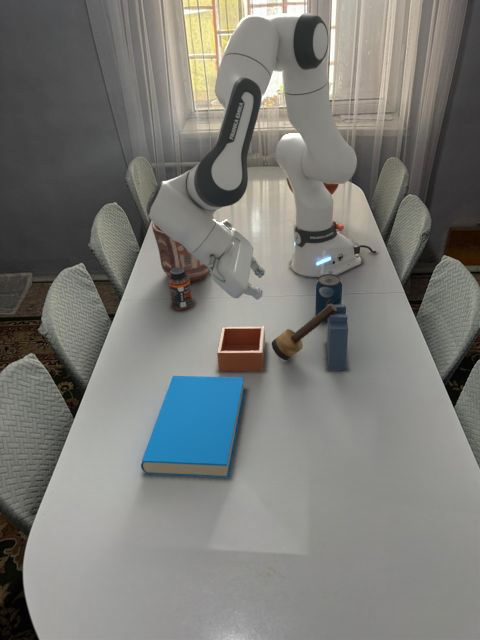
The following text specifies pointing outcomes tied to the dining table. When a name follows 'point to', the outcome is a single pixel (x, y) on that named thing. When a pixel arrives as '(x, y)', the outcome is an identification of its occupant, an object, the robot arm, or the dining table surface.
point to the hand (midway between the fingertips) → (261, 285)
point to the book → (196, 427)
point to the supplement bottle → (180, 289)
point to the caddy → (241, 349)
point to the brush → (299, 335)
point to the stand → (337, 338)
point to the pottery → (178, 257)
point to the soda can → (328, 292)
